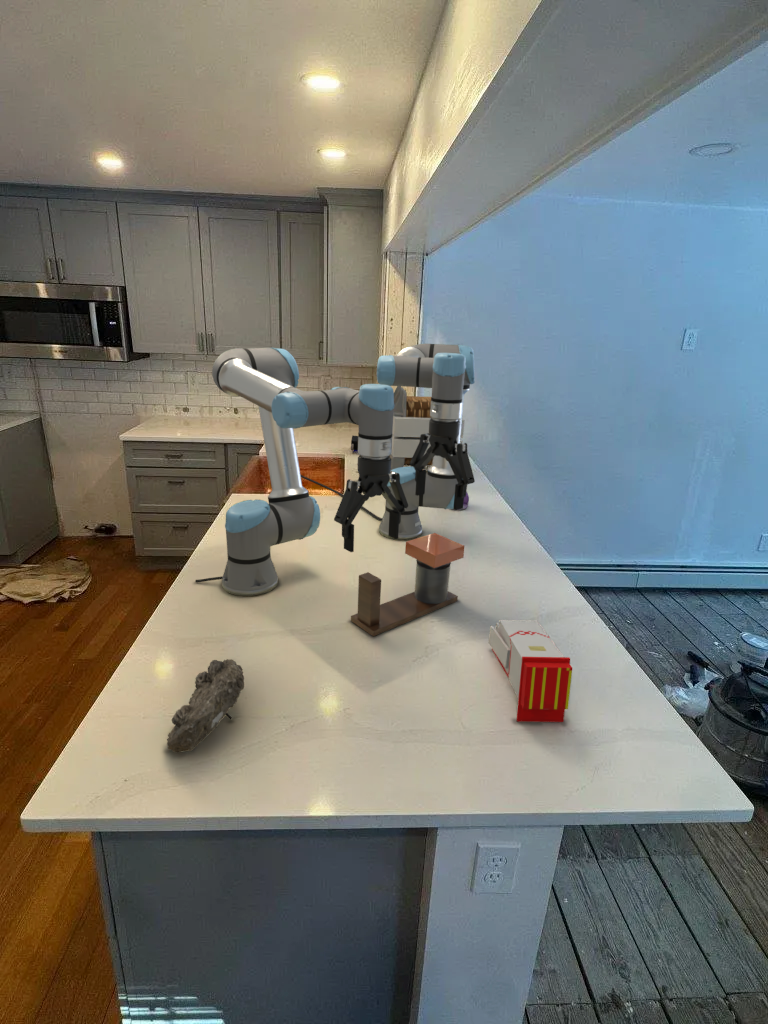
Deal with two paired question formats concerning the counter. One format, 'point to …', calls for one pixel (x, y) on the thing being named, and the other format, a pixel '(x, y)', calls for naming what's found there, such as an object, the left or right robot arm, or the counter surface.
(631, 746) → the counter surface
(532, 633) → the toy
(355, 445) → the figurine character
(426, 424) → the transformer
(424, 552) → the orange square block
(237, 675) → the fossil
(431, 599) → the caddy
